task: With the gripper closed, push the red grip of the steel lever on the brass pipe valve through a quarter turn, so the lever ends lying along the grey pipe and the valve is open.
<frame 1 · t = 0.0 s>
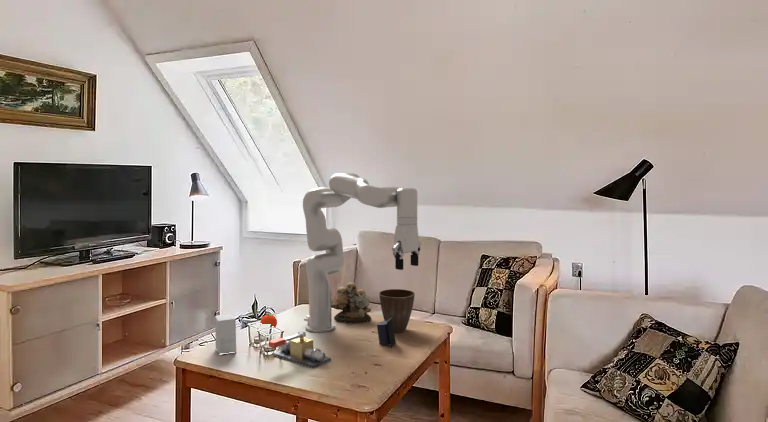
hand: (407, 267, 196), 31 cm above the table, tool pointing down, fingers open, 9 cm apart
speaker: (385, 344, 204), on the table
small box: (226, 351, 197), on the table
valve lever: (288, 338, 184), point 9 cm above the table, hinge at 0.0°
clementine: (269, 330, 223), on the table
owl figurine: (351, 320, 239), on the table
plant pot: (396, 330, 222), on the table
valve body: (302, 358, 190), on the table
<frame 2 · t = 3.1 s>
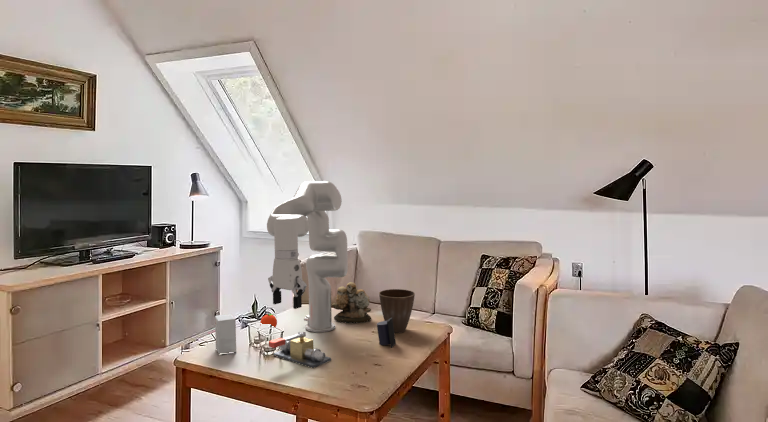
hand: (287, 305, 175), 22 cm above the table, tool pointing down, fingers open, 9 cm apart
nothing on the table moved.
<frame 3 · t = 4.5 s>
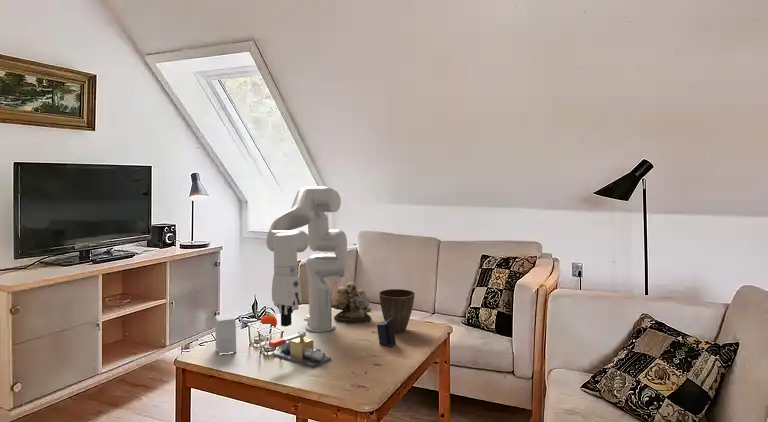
hand: (286, 325, 175), 16 cm above the table, tool pointing down, fingers closed
nothing on the table moved.
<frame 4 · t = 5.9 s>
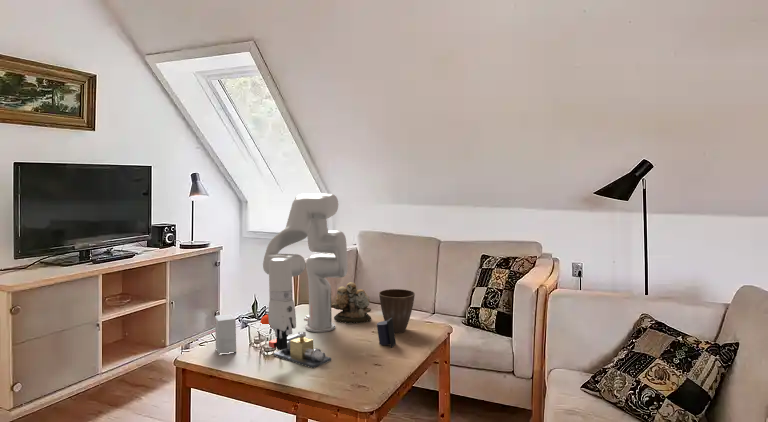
hand: (281, 348, 178), 8 cm above the table, tool pointing down, fingers closed
valve lever: (288, 338, 184), point 9 cm above the table, hinge at -0.1°, touching gripper
everything else where it was.
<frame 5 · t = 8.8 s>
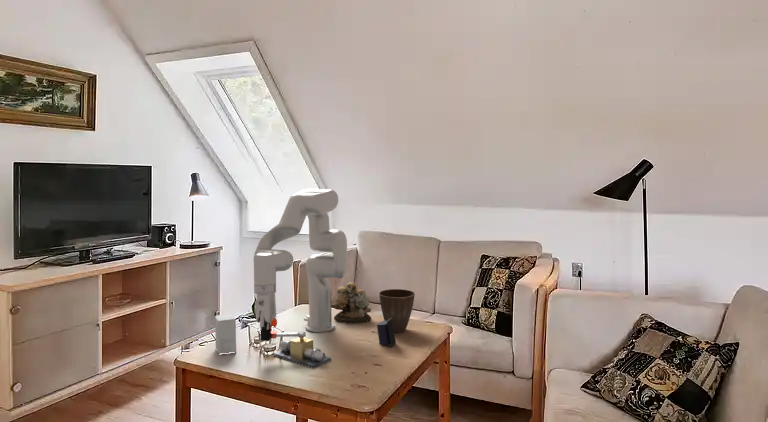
hand: (265, 339, 186), 8 cm above the table, tool pointing down, fingers closed
valve lever: (284, 334, 189), point 9 cm above the table, hinge at -51.0°, touching gripper
everything else where it was.
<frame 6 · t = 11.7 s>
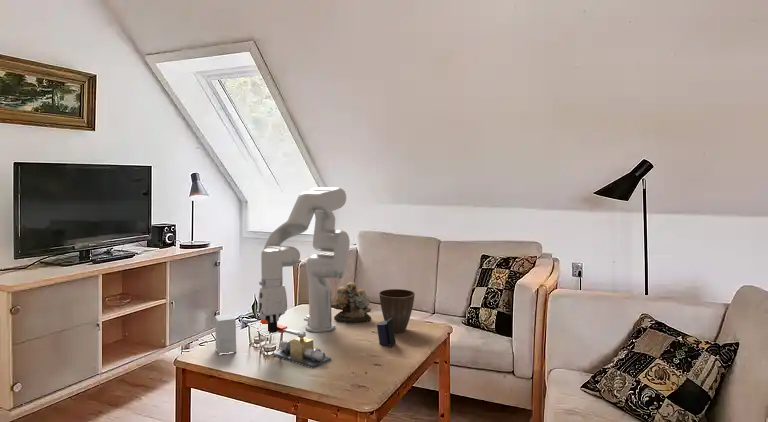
hand: (272, 332, 194), 8 cm above the table, tool pointing down, fingers closed
valve lever: (289, 331, 193), point 9 cm above the table, hinge at -90.1°, touching gripper
everything else where it was.
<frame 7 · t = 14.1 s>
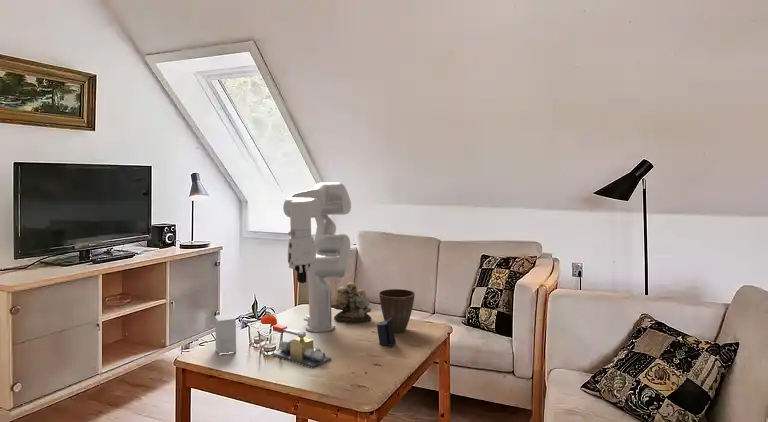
hand: (302, 282, 197), 26 cm above the table, tool pointing down, fingers closed
valve lever: (289, 331, 193), point 9 cm above the table, hinge at -90.1°
everything else where it was.
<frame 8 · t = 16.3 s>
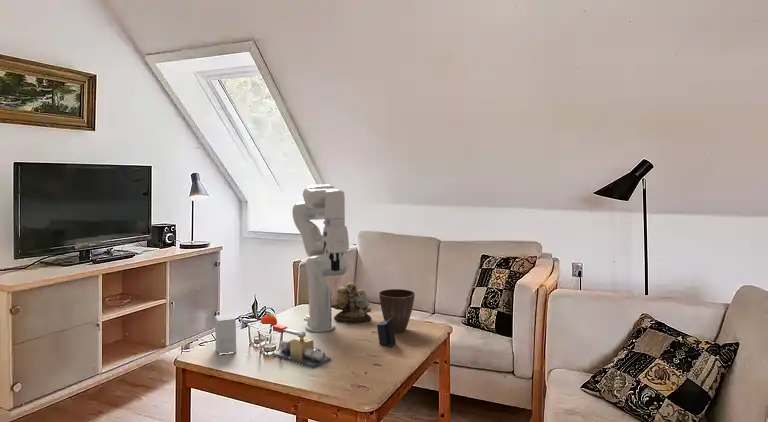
hand: (335, 270, 202), 29 cm above the table, tool pointing down, fingers closed
nothing on the table moved.
at the end: valve lever at -90° (first picture: +0°) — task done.
